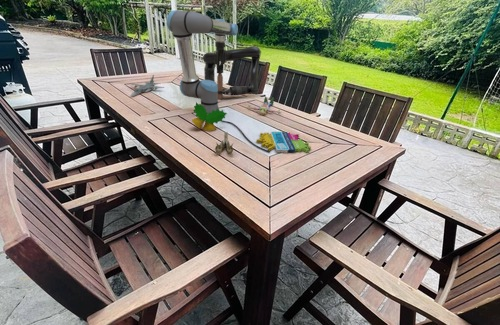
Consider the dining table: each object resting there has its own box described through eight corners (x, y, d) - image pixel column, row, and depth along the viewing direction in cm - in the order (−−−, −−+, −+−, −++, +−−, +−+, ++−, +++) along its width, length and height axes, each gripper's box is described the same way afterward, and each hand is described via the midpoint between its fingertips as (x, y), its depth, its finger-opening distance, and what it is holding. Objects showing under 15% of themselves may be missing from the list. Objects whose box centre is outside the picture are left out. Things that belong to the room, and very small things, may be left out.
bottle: (220, 99, 222) (220, 71, 210) (216, 98, 224) (216, 70, 213) (223, 98, 225) (224, 70, 214) (219, 97, 227) (219, 70, 216)
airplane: (124, 86, 238) (122, 75, 233) (160, 84, 251) (158, 74, 246) (129, 99, 209) (126, 86, 204) (168, 96, 223) (167, 84, 217)
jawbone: (234, 135, 144) (233, 125, 135) (233, 160, 138) (232, 151, 129) (217, 135, 144) (216, 125, 135) (216, 160, 138) (214, 150, 129)
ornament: (218, 133, 171) (224, 110, 169) (221, 134, 163) (227, 111, 161) (186, 125, 162) (192, 101, 160) (189, 126, 155) (195, 101, 153)
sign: (313, 150, 142) (258, 149, 139) (312, 153, 143) (258, 152, 140) (301, 132, 164) (254, 130, 161) (301, 134, 165) (254, 133, 162)
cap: (222, 72, 216) (222, 69, 214) (222, 73, 212) (222, 70, 211) (218, 72, 216) (218, 69, 215) (217, 73, 212) (217, 70, 211)
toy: (286, 98, 212) (281, 108, 186) (285, 107, 216) (280, 118, 190) (253, 94, 217) (244, 103, 191) (252, 103, 221) (243, 112, 195)
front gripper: (217, 42, 194) (217, 75, 206) (230, 41, 208) (229, 72, 219) (209, 41, 198) (210, 73, 209) (222, 40, 211) (222, 71, 222)
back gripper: (232, 84, 231) (214, 85, 224) (238, 88, 220) (219, 89, 213) (232, 93, 234) (214, 94, 228) (238, 97, 223) (219, 98, 217)
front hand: (220, 72), depth 214 cm, fingers closed on cap, 4 cm apart
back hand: (216, 91), depth 220 cm, fingers closed on bottle, 4 cm apart
